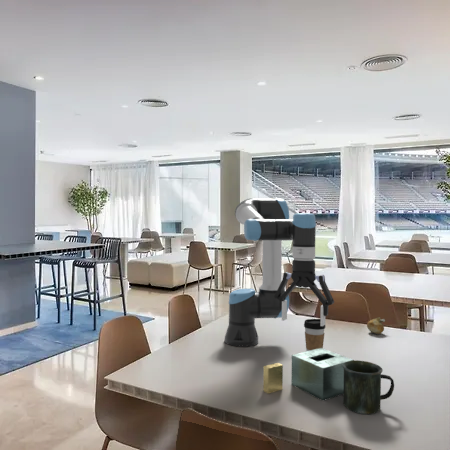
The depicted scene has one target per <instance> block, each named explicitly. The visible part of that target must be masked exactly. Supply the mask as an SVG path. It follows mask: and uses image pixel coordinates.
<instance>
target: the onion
mask: <svg viewBox="0 0 450 450" xmlns="http://www.w3.org/2000/svg"><path fill="white" fill-rule="evenodd" d="M385 321H386V320H385V318H382V319H381V317H378V316H377V317H376V318H373V319H371V320H369V321H367V323H366V327H367V329H368V331H369V332H370V333H372V334H374V333H375V335H381V334H382V333H383V332H384V330H385V326H384V324H383V323H385Z"/></svg>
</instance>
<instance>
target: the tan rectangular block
mask: <svg viewBox="0 0 450 450" xmlns="http://www.w3.org/2000/svg"><path fill="white" fill-rule="evenodd" d="M283 367H284V365H283V364H281V363H280V362H276V363H272V364H266V365H263V378H262V379H263V383H262V384H263V385H262V386H263V389H262V390H263V392H265V394H273V393H276V392H279V391H282V390H283V382H284V381H283V380H284V379H283V377H284V376H283V375H284V371H283V370H284V369H283Z"/></svg>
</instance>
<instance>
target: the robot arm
mask: <svg viewBox="0 0 450 450" xmlns="http://www.w3.org/2000/svg"><path fill="white" fill-rule="evenodd" d="M234 216H235V219H236V220H237V222H238V223H240V224H241V225H244V226H243V234H244V239H245V240H248V241H255V242H256V241H262V284H261V285H260V286H259V289H258V291H256V290H255V289H254V288H240V289H235V290H232V291H231V292H230V293H229V295H228V297H229V298H228V326H227V328H226V332H225V335H224V343H225V344H227V345H229V346H233V347H238V348H239V347H240V348H241V347H243V348H244V347H252V346H255V345H257V344H258V343H259V336H258V331H257V328H256V325H255V323H256V322H255V321H256V320H255V319H277V318H278V319H281V321H286V320H288V311H289V308H290V296H289V295H290V294H291V293H292V292H293V291H294V289H296V287H297V288H306V289H307V288H309V289H310V290H311V291H312V293H314V295H315V296H316V298H317V299H318V300H319V301H320V303H321V304H322V305H320V319H321V322H320V326H324V325H325V326H326V317H327V316H329V306H331V305H333V304H335V300H334V298H333V296H332V294H331V292H330V289H329V287H328V285H327V283H326V277H325V275H324V274H320V275H317V274H316V261H315V260H314V259H316V226H317V223H316V215H315V214H314V213H294V214H293V215H292V218H291V219H290V209H289V206H288V203H287V201H286V200H284V198H276V197H274V198H267V197H265V198H264V197H263V198H262V197H261V198H260V197H259V198H257V197H256V198H255V197H252V198H247V199H244V200H242V201H241V202H239V203H238V204H237V205H236V207H235V210H234ZM283 241H292V258H293V260H292V268H291V269H292V272H291V273H290V272H289V271H286V272H283V274H282V258H283V257H282V254H283V253H282V251H283V250H282V248H283V247H282V242H283ZM290 279H292V282H291V283H290V285H289V286H288V288H287V289H286V286H287V284H288V282H289V280H290ZM315 281H317V282H319V283H318V284H319V286H320V288H321V290H322V292H323V293H322V292H321V290H320V289H319V287H318V286H317V284H316V283H315Z"/></svg>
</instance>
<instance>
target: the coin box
mask: <svg viewBox="0 0 450 450" xmlns="http://www.w3.org/2000/svg"><path fill="white" fill-rule="evenodd" d="M353 360H354V359H352V358H351V357H347V356H345V355H342V354H339V353H336V352H334V351H331V350H328V349H325V348H324V347H323V348H319V349H315V350H310V351H302V352H299V353H294V354H291V386H293V387H295V388H297V389H299V390H301V391H303V392H305V393H306V394H309V395H311V396H312V395H313V397H314V396H315V398H316V397H317V398H316V399H318V398H319V399H318V400H320V399H321V400H320V401H322V400H324V401H326V400H325V399H327V400H329V398H330V399H332V397H333V398H335V396H336V397H339V396H341V395H343V393H344V368H343V367H342V365H343V363H345V362H347V361H353ZM338 395H339V396H338Z"/></svg>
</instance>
